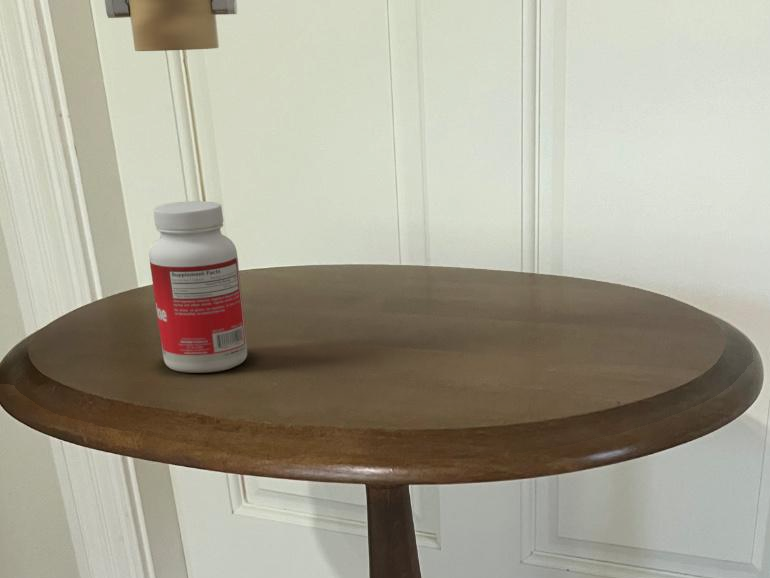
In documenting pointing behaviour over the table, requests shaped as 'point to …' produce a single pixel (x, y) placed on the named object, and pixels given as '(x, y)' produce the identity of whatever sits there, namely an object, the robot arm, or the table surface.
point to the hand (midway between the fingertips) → (173, 16)
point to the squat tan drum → (173, 25)
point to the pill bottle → (197, 289)
